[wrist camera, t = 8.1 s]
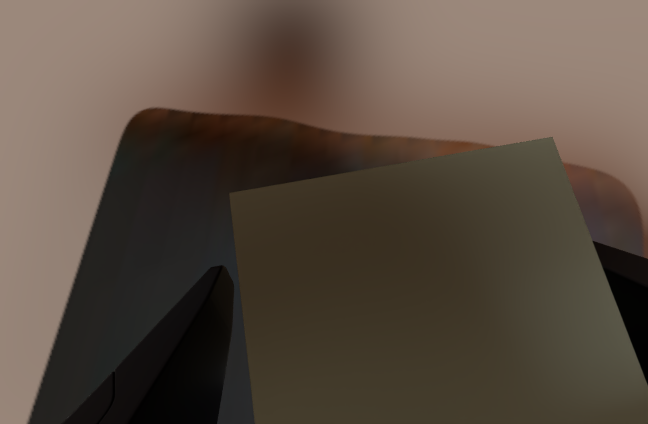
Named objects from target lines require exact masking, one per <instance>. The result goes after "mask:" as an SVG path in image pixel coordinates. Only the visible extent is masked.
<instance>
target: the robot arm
mask: <svg viewBox="0 0 648 424" xmlns="http://www.w3.org/2000/svg"><path fill="white" fill-rule="evenodd" d="M592 242H593V244H594V247H595V249H596V252H597V255H598V257H599V260H600V262H601V265H602V268H603V270H604V273H605V275H606V278H607V281H608V283H609V286H610V289H611V291H612V294H613V296H614V299H615V302H616V304H617V307H618V309H619V312H620V315H621V317H622V320H623V322H624V325H625V328H626V330H627V333H628V335H629V338H630V341H631V343H632V346H633V348H634V351H635V354H636V356H637V359H638V362H639V364H640V367H641V369H642V372H643V375H644V377H645V380H646V382H647V385H648V259H647V258H644V257H641V256H638V255H635V254H632V253H629V252H625V251H622V250H619V249H616V248H613V247H610V246H607V245H604V244H601V243H598V242H595V241H592ZM233 301H234V284H233V281H232V279H231V277H230V275H229V273H228V271H227V269H226V267H225V266H223V265H221V266H215V267H211V268H210V269H209V270H208V271H207V272H206V273H205V274H204V275H203V276H202V277H201V278H200V279H199V280H198V281H197V283H196V284H195V285H194V286H193V287H192V288H191V289H190V290H189V291H188V292H187V293H186V294H185V295H184V296H183V297H182V298H181V299H180V301H179V302H178V303H177V304H176V305H175V306H174V307H173V308H172V309H171V310H170V311H169V312H168V313H167V314H166V315H165V316H164V318H163V319H162V320H161V321H160V322H159V323H158V324H157V325H156V326H155V327H154V328H153V329H152V330H151V331H150V332H149V333H148V334H147V336H146V337H145V338H144V339H143V340H142V341H141V342H140V343H139V344H138V345H137V346H136V347H135V348H134V349H133V350H132V351H131V353H130V354H129V355H128V356H127V357H126V358H125V359H124V360H123V361H122V362H121V363H120V364H119V365H118V366H117V367H116V368H115V372H112V373H111V374H110V375H109V376H108V377H107V378H106V379H105V380H104V381H103V382H102V383H101V384H100V385H99V386H98V387H97V388H96V389H95V390H94V391H93V392H92V394H91V395H90V396H89V397H88V398H87V399H86V400H85V401H84V402H83V403H82V404H81V405H80V406H79V407H78V408H77V409H76V410H75V411H74V412H73V413H72V414H71V415H70V416H69V417H68V418H67V419H66V420H65V421H64V422H63V423H62V424H217V420H218V414H219V408H220V402H221V396H222V390H223V384H224V378H225V372H226V366H227V360H228V354H229V348H230V342H231V335H232V320H233Z"/></svg>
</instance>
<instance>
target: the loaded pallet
mask: <svg viewBox="0 0 648 424" xmlns="http://www.w3.org/2000/svg"><path fill="white" fill-rule="evenodd" d="M229 196H230V205H231V214H232V223H233V232H234V241H235V249H236V258H237V267H238V276H239V285H240V294H241V303H242V312H243V321H244V329H245V338H246V347H247V356H248V365H249V374H250V383H251V392H252V401H253V410H254V418H255V424H648V385H647V382H646V380H645V377H644V375H643V372H642V369H641V367H640V364H639V362H638V359H637V356H636V354H635V351H634V348H633V346H632V343H631V341H630V338H629V335H628V333H627V330H626V328H625V325H624V322H623V320H622V317H621V315H620V312H619V309H618V307H617V304H616V302H615V299H614V296H613V294H612V291H611V289H610V286H609V283H608V281H607V278H606V275H605V273H604V270H603V268H602V265H601V262H600V260H599V257H598V255H597V252H596V249H595V247H594V244H593V242H592V239H591V236H590V234H589V231H588V229H587V226H586V223H585V221H584V218H583V216H582V213H581V210H580V208H579V205H578V202H577V200H576V197H575V195H574V192H573V189H572V187H571V184H570V182H569V179H568V176H567V174H566V171H565V169H564V166H563V163H562V161H561V158H560V156H559V153H558V150H557V148H556V145H555V143H554V140H553V137H549V138H543V139H538V140H532V141H526V142H520V143H514V144H509V145H503V146H497V147H491V148H486V149H480V150H474V151H468V152H463V153H457V154H451V155H445V156H440V157H434V158H428V159H422V160H417V161H411V162H405V163H399V164H394V165H388V166H382V167H376V168H371V169H365V170H359V171H353V172H347V173H342V174H336V175H330V176H324V177H319V178H313V179H307V180H301V181H296V182H290V183H284V184H278V185H273V186H267V187H261V188H255V189H250V190H244V191H238V192H232V193H229Z"/></svg>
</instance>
